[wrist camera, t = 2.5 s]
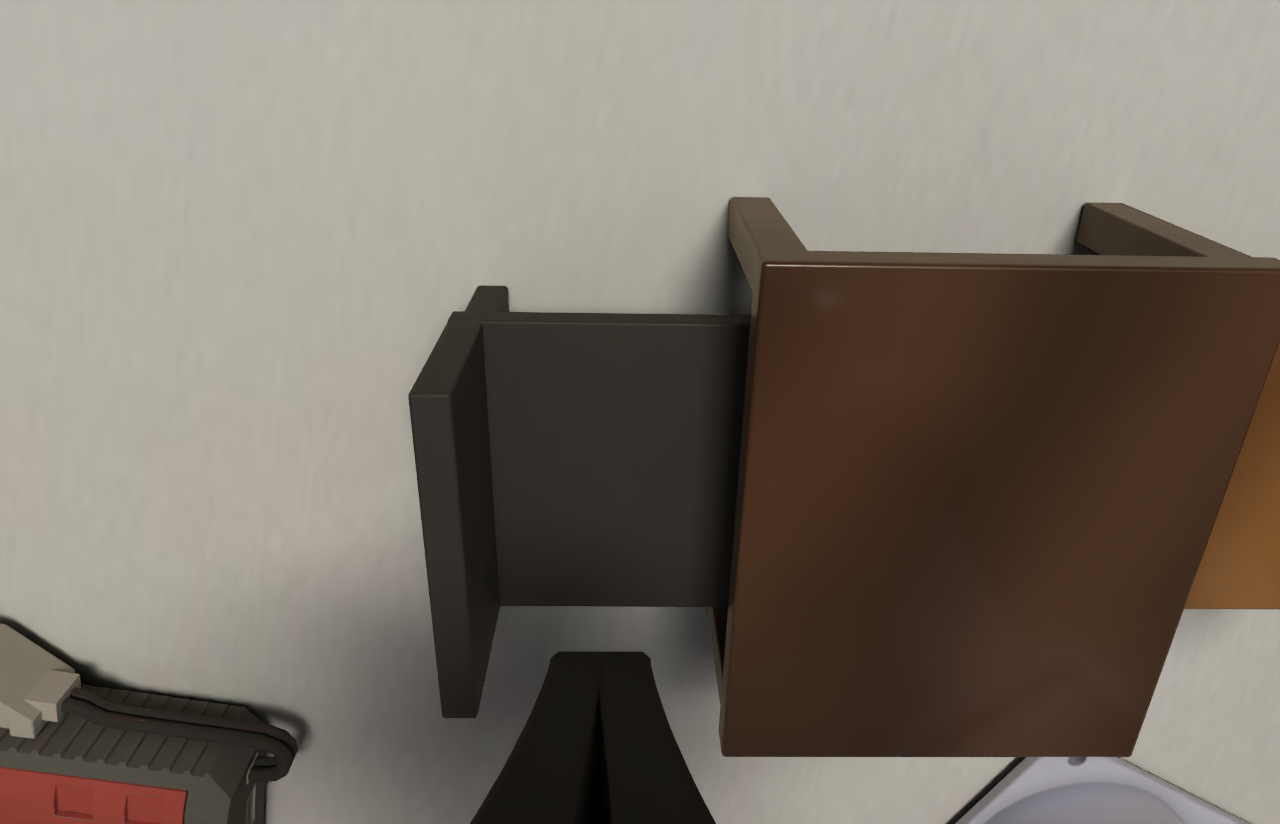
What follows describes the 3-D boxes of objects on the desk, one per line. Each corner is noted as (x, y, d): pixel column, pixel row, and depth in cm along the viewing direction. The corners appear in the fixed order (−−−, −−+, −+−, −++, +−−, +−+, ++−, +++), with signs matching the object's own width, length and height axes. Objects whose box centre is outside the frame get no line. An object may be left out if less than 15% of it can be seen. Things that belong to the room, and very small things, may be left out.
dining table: (1129, 198, 19) (1308, 269, 14) (1025, 598, 24) (1132, 759, 19) (725, 191, 19) (762, 261, 14) (701, 597, 24) (721, 758, 19)
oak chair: (1352, 290, 20) (1641, 406, 14) (1254, 542, 23) (1462, 722, 17) (1011, 285, 20) (1166, 401, 14) (957, 540, 23) (1068, 721, 17)
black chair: (487, 537, 23) (441, 719, 17) (470, 278, 20) (407, 393, 14) (792, 539, 23) (848, 720, 17) (821, 283, 20) (900, 399, 14)
